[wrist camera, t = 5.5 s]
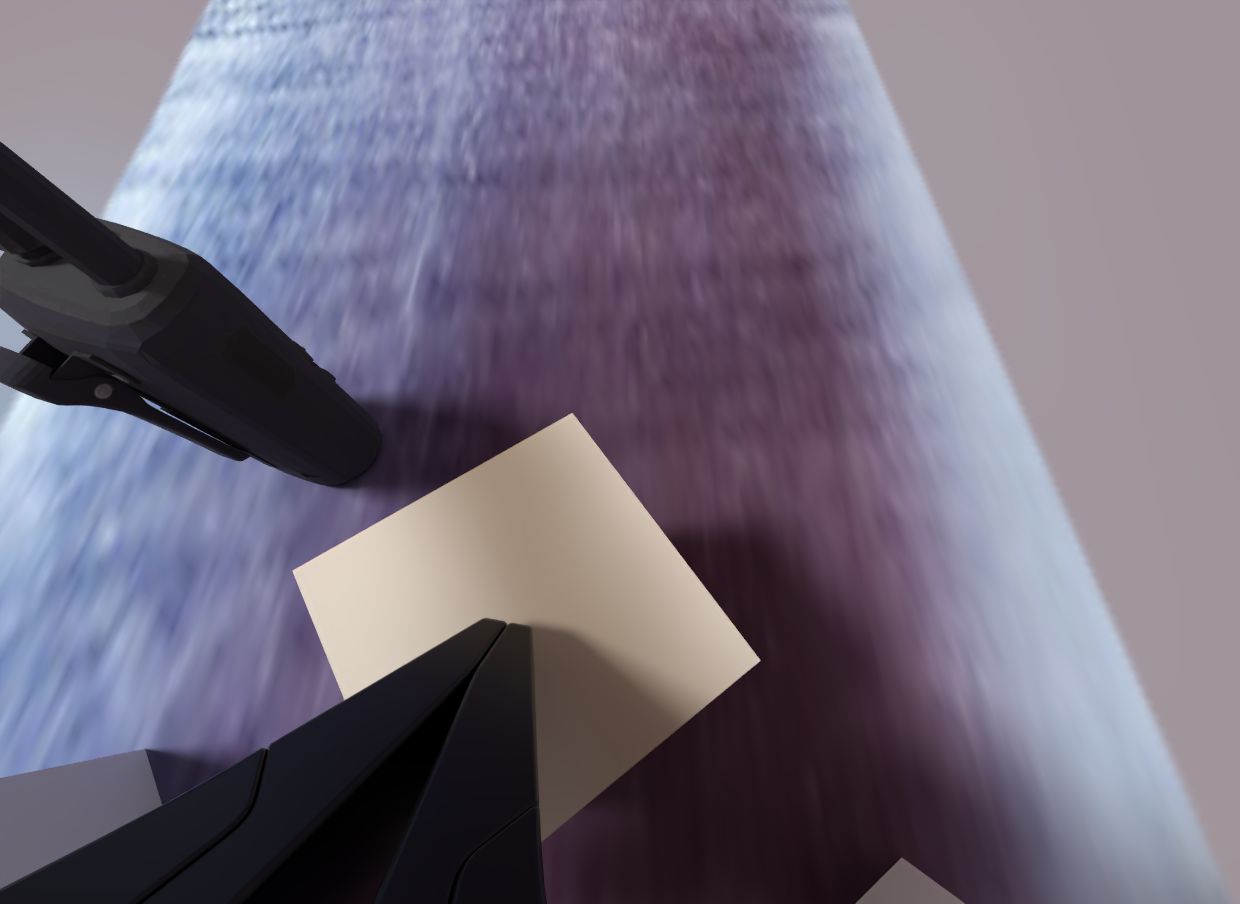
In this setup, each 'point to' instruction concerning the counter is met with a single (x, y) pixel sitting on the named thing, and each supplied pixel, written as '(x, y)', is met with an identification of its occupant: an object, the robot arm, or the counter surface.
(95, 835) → the white letter cube
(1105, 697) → the counter surface
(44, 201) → the two-way radio
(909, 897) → the white letter block
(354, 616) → the birch block
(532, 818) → the robot arm
